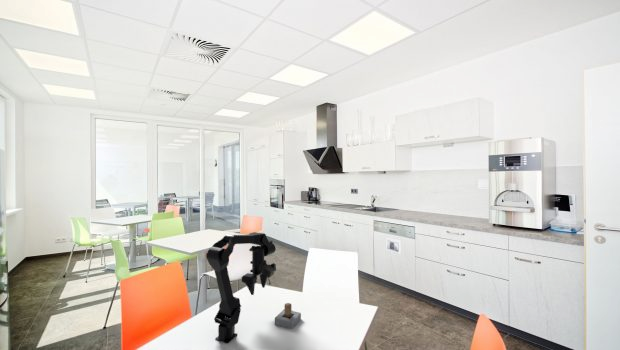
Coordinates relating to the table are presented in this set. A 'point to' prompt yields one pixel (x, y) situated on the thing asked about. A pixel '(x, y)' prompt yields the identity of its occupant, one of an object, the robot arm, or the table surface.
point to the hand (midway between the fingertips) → (258, 291)
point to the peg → (287, 310)
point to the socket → (287, 319)
